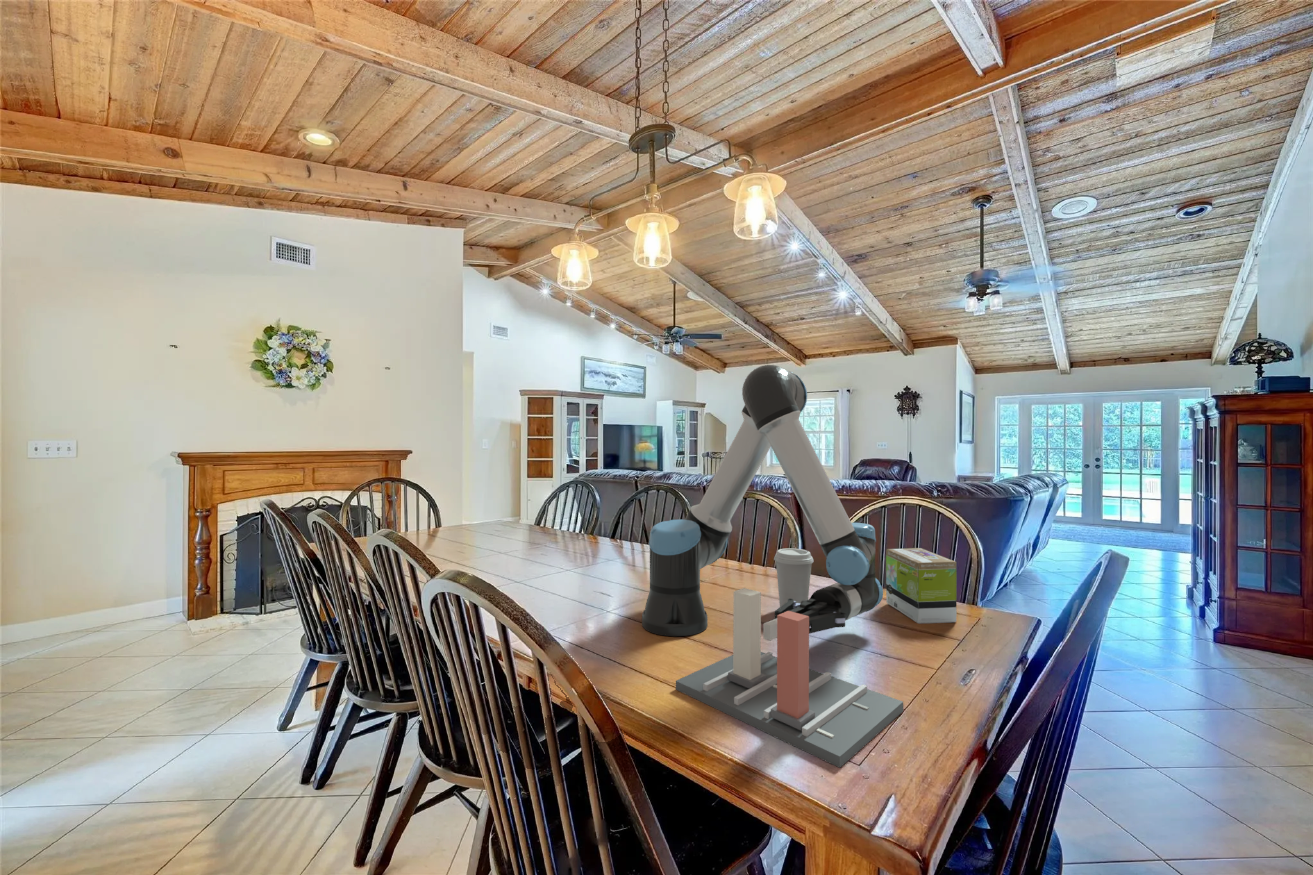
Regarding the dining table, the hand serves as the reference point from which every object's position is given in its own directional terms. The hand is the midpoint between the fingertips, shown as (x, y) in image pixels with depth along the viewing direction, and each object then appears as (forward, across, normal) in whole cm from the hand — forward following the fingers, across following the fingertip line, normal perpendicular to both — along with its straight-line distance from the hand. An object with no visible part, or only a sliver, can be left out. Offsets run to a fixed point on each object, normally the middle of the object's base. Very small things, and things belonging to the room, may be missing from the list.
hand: (766, 632), depth 95 cm
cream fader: (+6, 0, -7) cm, 9 cm away
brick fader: (+11, -12, -7) cm, 18 cm away
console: (+4, -6, -9) cm, 11 cm away
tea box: (-58, -4, -9) cm, 59 cm away
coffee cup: (-36, +18, -9) cm, 41 cm away
